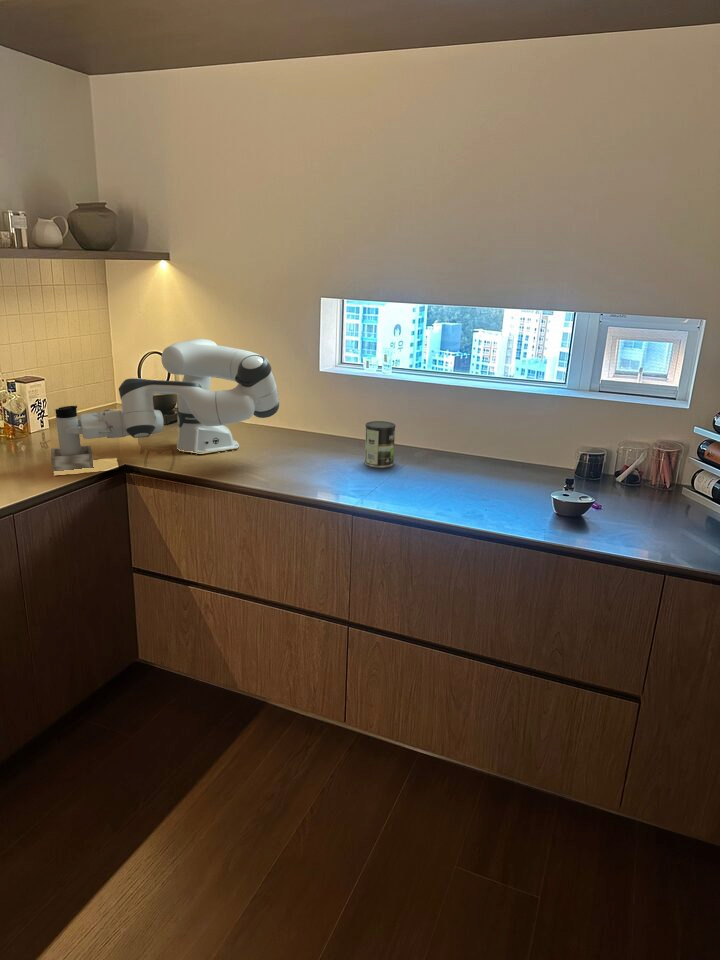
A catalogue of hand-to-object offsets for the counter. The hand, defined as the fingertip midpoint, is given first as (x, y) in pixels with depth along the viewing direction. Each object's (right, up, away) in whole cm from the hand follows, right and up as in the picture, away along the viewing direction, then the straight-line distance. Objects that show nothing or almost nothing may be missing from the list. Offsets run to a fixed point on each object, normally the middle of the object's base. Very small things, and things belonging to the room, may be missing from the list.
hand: (65, 427), depth 214 cm
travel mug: (+1, -13, +4) cm, 13 cm away
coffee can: (+101, -11, +21) cm, 103 cm away
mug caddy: (+4, -13, +7) cm, 15 cm away
